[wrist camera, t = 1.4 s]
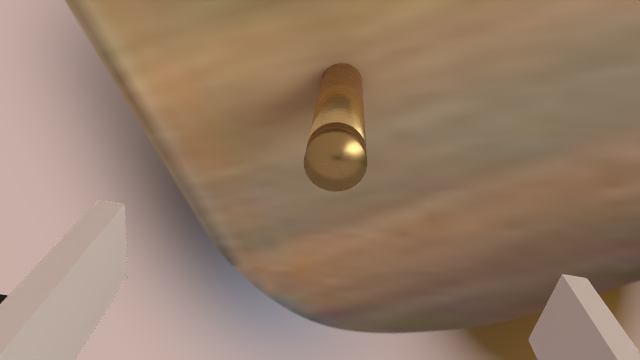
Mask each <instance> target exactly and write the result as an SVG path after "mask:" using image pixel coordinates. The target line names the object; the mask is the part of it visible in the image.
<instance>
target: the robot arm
mask: <svg viewBox="0 0 640 360" xmlns="http://www.w3.org/2000/svg"><path fill="white" fill-rule="evenodd" d="M127 278H128V269H127V245H126V220H125V204H122V203H117V202H111V201H105V200H98V201H97V202H96V203H95V204H94V205H93V206H92V207H91V208H90V209H89V210H88V211H87V212H86V213H85V215H83V216H82V218H81V219H80V220H79V221H78V222H77V223H76V224H75V225H74V226H73V227H72V228H71V229H70V230H69V231H68V233H67V234H66V235H65V236H64V237H63V238H62V239H61V240H60V241H59V242H58V243H57V244H56V245H55V246H54V247H53V248H52V249H51V251H50V252H49V253H48V254H47V255H46V256H45V257H44V258H43V259H42V260H41V261H40V262H39V263H38V265H36V267H35V268H34V269H33V270H32V271H31V272H30V273H29V274H28V275H27V276H26V277H25V278H24V279H23V280H22V282H21V283H20V284H19V285H18V286H17V287H16V288H15V289H14V290H13V291H12V292H11V293H10V294H9V295H8V296H7V295H1V294H0V360H75V359H76V358H77V356H78V355H79V353H80V352H81V350H82V348H83V347H84V345H85V344H86V342H87V341H88V339H89V337H90V336H91V334H92V333H93V331H94V329H95V328H96V326H97V325H98V323H99V322H100V320H101V319H102V317H103V315H104V314H105V312H106V311H107V309H108V308H109V306H110V304H111V303H112V301H113V300H114V298H115V297H116V295H117V293H118V292H119V290H120V289H121V287H122V285H123V284H124V282H125V281H126V279H127ZM529 342H530V344H531V346H532V349H533V351H534V353H535V355H536V357H537V359H538V360H640V352H639V351H638V350H637V348H636V347H635V345H634V344H633V342H632V341H631V340H630V338H629V337H628V335H627V334H626V332H625V331H624V330H623V328H622V327H621V326H620V324H619V323H618V321H617V320H616V319H615V317H614V316H613V314H612V313H611V311H610V310H609V309H608V307H607V306H606V305H605V303H604V302H603V300H602V299H601V297H600V296H599V295H598V293H597V292H596V290H595V289H594V288H593V286H592V285H591V283H590V282H589V281H588V279H587V278H583V277H577V276H571V275H564V274H562V275H561V277H560V279H559V281H558V283H557V285H556V287H555V289H554V291H553V293H552V295H551V297H550V298H549V300H548V302H547V304H546V306H545V308H544V310H543V312H542V314H541V316H540V318H539V320H538V322H537V324H536V326H535V328H534V329H533V332H532V333H531V335H530V338H529Z"/></svg>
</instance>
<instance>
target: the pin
mask: <svg viewBox="0 0 640 360" xmlns="http://www.w3.org/2000/svg"><path fill="white" fill-rule="evenodd" d="M304 168H305V171H306V174H307V176H308V177H309V179H310V180H311V181H312V182H313V183H314V184H315V185H317V186H318V187H320V188H322V189H325V190H328V191H343V190H347V189H350V188H352V187H353V186H355V185H356V184H357V183H359V182H360V180H361V179H362V178H363V176H364V174H365V172H366V168H367V155H366V139H365V122H364V105H363V89H362V79H361V76H360V74H359V72H358V71H357V70H356V69H355V68H354V67H353V66H351V65H348V64H336V65H333V66H331V67H330V68H329V69H328V70H327V71H326V72H325V73H324V75H323V78H322V82H321V87H320V91H319V95H318V100H317V104H316V109H315V113H314V117H313V122H312V126H311V131H310V135H309V139H308V144H307V148H306V153H305V157H304Z"/></svg>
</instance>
